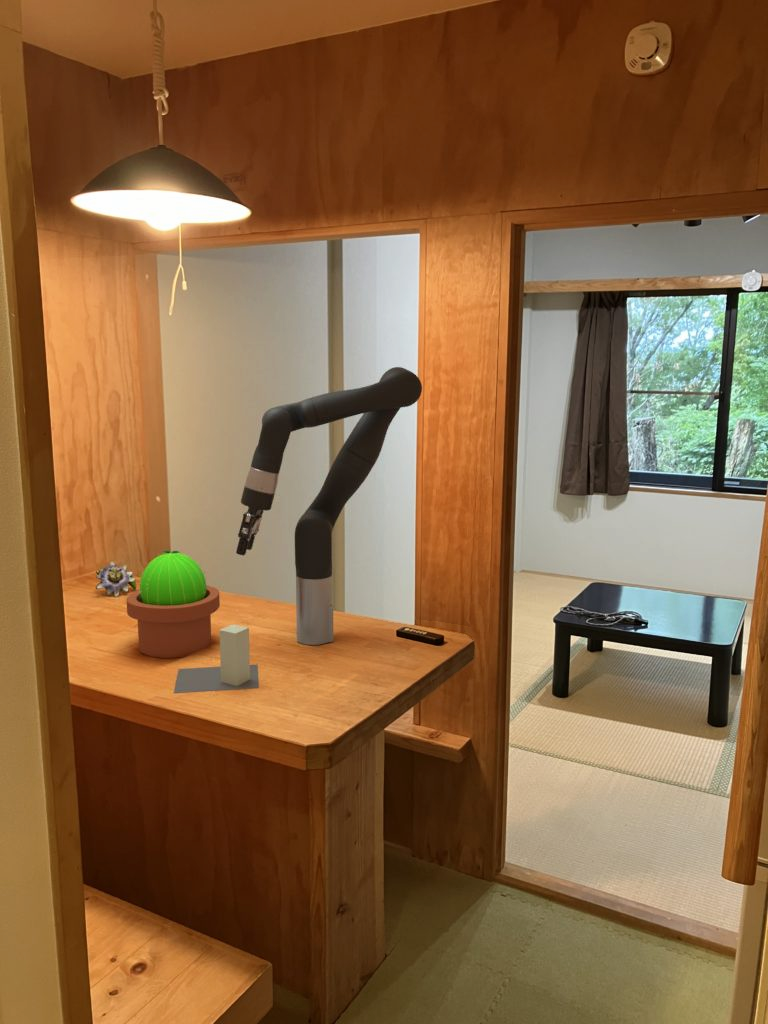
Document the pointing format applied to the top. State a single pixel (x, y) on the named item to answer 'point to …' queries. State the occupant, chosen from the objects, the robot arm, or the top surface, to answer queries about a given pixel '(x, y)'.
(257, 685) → the rubber mat
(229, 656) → the sage block
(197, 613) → the potted cactus
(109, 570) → the passion flower
